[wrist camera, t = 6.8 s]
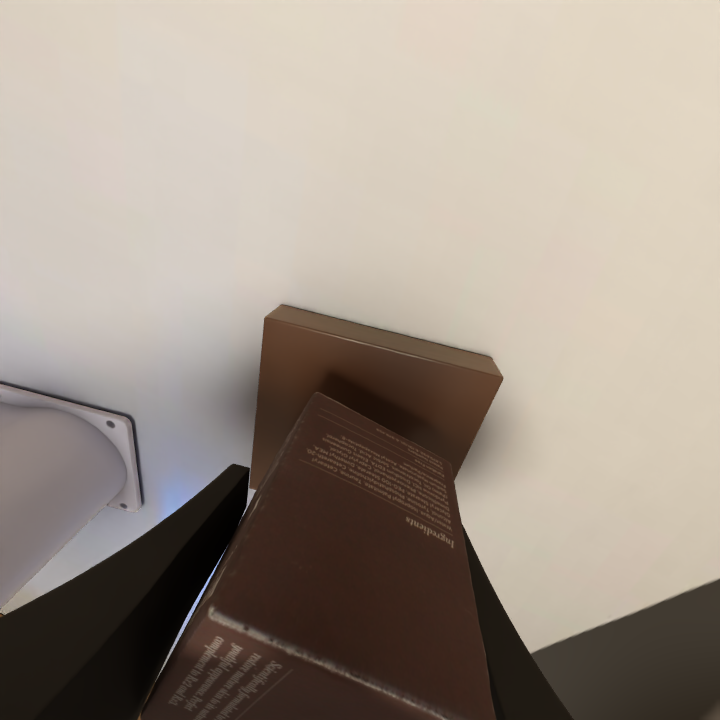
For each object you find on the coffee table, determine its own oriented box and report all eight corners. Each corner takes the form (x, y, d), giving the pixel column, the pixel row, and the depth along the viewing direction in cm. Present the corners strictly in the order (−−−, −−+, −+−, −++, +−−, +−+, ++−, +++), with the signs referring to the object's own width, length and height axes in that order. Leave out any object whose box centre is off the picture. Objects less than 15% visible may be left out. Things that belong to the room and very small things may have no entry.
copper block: (263, 462, 19) (248, 488, 17) (281, 303, 15) (263, 316, 13) (425, 505, 19) (428, 536, 17) (492, 357, 15) (504, 377, 13)
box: (317, 383, 12) (201, 610, 5) (455, 459, 12) (515, 749, 6) (258, 484, 14) (129, 722, 8) (374, 542, 15) (350, 809, 8)
